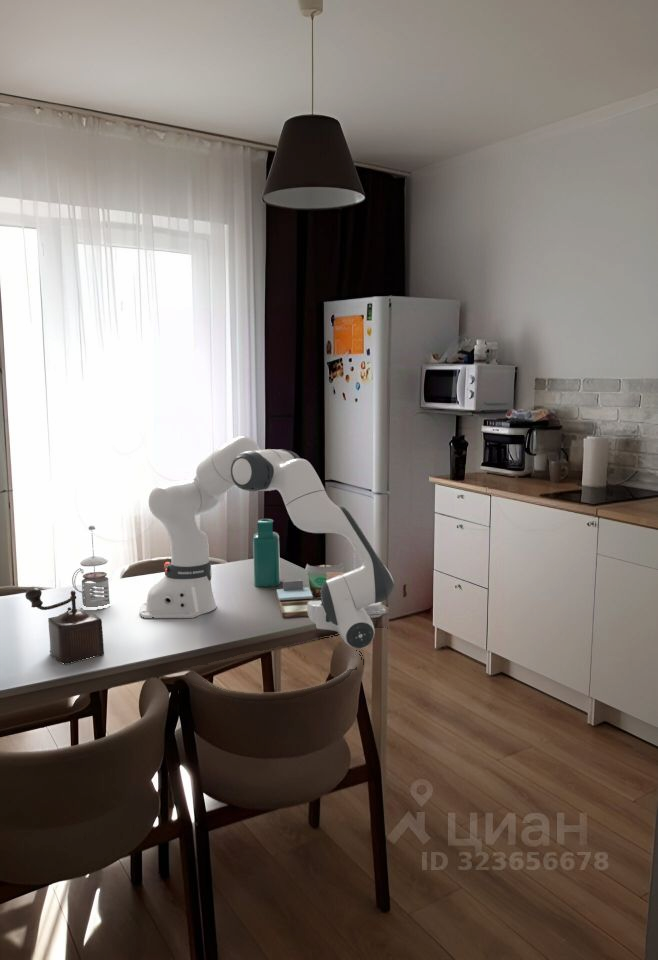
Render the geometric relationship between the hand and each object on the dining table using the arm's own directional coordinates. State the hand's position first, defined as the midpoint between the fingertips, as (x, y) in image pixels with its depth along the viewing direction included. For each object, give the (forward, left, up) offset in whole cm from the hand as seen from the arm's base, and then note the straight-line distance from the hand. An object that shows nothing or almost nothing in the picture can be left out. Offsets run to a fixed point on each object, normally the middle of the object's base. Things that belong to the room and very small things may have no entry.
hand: (340, 599), depth 207 cm
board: (-11, +16, -6) cm, 20 cm away
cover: (-11, +22, -4) cm, 24 cm away
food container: (-1, +24, -6) cm, 24 cm away
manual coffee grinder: (-72, -13, -6) cm, 73 cm away
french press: (-72, +29, -6) cm, 77 cm away
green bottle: (-18, +42, -6) cm, 46 cm away
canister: (0, +9, -6) cm, 10 cm away
